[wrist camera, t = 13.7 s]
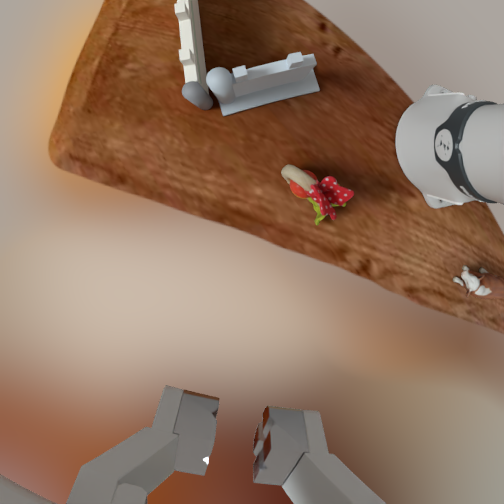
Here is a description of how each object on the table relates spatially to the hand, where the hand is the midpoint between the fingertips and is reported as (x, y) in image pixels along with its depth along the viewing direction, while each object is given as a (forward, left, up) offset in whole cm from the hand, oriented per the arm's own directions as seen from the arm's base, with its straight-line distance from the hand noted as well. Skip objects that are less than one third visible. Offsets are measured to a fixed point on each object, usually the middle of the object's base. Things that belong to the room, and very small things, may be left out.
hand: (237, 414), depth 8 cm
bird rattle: (-8, -1, -37) cm, 38 cm away
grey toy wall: (-3, -15, -37) cm, 40 cm away
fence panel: (+6, -21, -36) cm, 42 cm away
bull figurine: (-38, +13, -37) cm, 55 cm away
